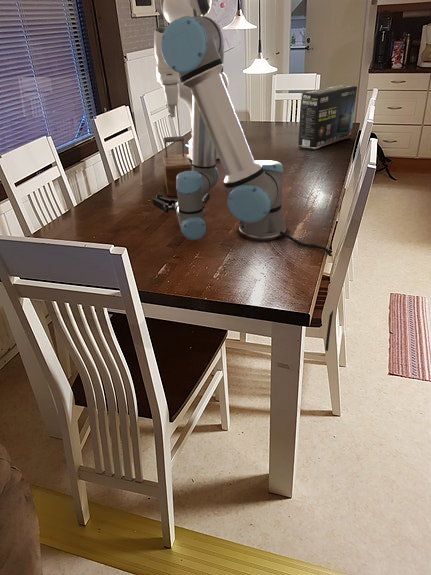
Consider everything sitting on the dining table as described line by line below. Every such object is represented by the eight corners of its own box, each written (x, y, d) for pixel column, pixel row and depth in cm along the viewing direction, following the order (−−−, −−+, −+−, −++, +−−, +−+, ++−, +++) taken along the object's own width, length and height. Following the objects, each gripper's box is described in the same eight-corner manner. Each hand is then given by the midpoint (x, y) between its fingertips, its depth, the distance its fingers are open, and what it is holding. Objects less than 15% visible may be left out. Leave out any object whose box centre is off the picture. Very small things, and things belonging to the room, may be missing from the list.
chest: (165, 184, 195) (163, 158, 189) (188, 182, 196) (186, 156, 190) (168, 196, 182) (165, 169, 176) (192, 194, 183) (190, 166, 178)
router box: (314, 151, 231) (318, 94, 217) (296, 148, 237) (299, 92, 224) (352, 138, 251) (358, 85, 238) (335, 135, 258) (340, 83, 245)
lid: (162, 158, 190) (160, 136, 185) (186, 156, 191) (184, 134, 186) (165, 168, 176) (163, 145, 172) (190, 166, 177) (189, 143, 173)
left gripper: (158, 73, 180) (161, 110, 187) (161, 79, 163) (165, 120, 170) (174, 72, 181) (177, 109, 188) (179, 78, 164) (182, 119, 171)
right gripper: (150, 227, 149) (145, 204, 167) (224, 218, 153) (212, 197, 171) (147, 205, 145) (142, 184, 163) (224, 197, 149) (211, 178, 167)
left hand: (171, 114), depth 179 cm, fingers open, 8 cm apart
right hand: (178, 191), depth 167 cm, fingers open, 13 cm apart
